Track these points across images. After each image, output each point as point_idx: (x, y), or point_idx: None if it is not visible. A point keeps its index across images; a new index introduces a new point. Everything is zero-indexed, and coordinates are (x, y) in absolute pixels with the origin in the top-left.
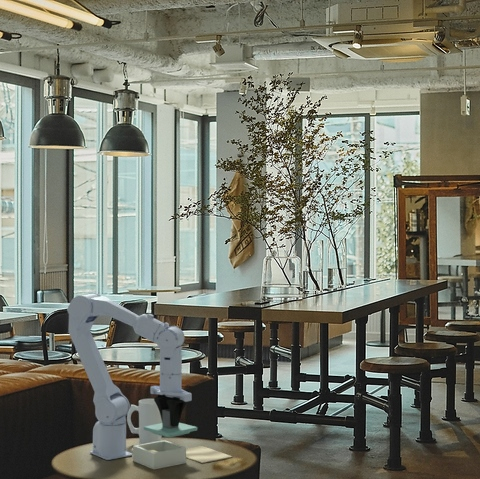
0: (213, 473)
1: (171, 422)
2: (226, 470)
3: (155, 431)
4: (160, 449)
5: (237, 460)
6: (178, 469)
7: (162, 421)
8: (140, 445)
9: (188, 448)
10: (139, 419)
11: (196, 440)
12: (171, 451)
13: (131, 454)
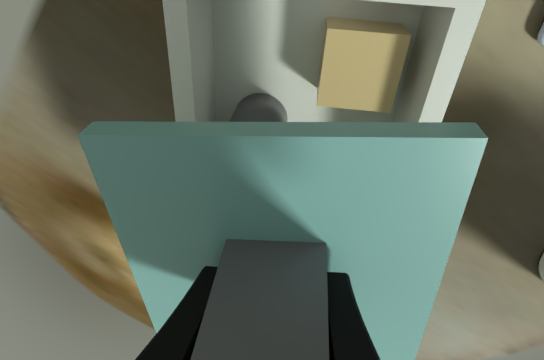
0: (4, 140)
1: (201, 289)
2: (32, 198)
3: (274, 129)
4: None
5: (138, 288)
6: (127, 66)
7: (326, 282)
8: (444, 40)
9: None
10: None
11: (438, 356)
12: (175, 112)
13: (542, 34)
